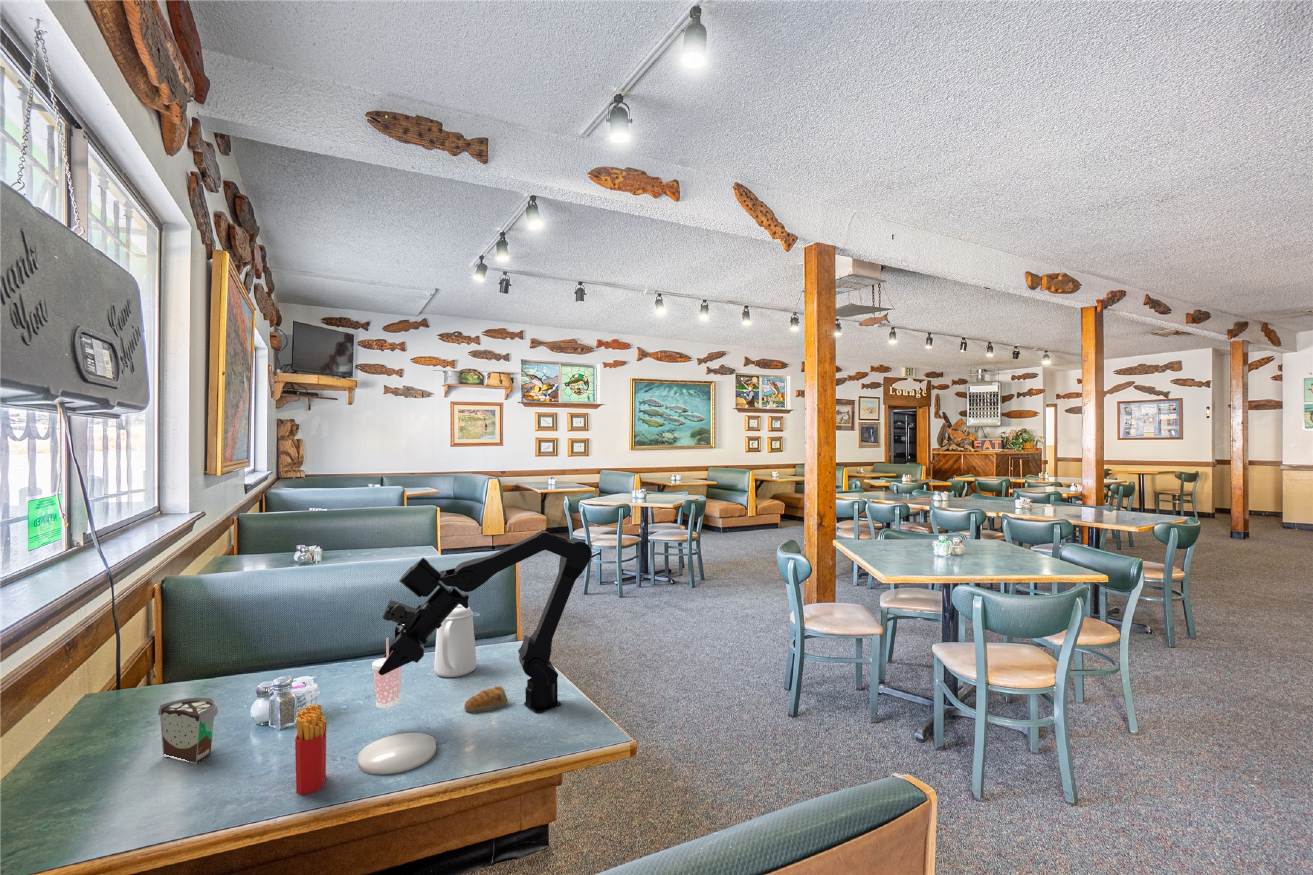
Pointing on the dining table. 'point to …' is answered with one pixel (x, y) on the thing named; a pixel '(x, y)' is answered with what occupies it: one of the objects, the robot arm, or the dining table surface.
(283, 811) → the dining table surface
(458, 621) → the coffeepot
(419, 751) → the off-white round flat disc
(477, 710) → the pastry
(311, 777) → the french fries
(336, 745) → the dining table surface
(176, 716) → the food container
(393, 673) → the beverage cup
